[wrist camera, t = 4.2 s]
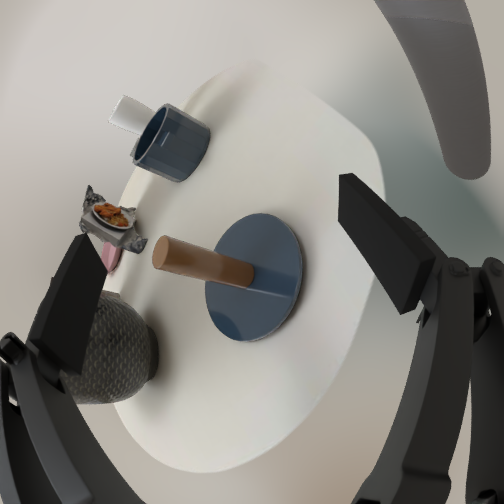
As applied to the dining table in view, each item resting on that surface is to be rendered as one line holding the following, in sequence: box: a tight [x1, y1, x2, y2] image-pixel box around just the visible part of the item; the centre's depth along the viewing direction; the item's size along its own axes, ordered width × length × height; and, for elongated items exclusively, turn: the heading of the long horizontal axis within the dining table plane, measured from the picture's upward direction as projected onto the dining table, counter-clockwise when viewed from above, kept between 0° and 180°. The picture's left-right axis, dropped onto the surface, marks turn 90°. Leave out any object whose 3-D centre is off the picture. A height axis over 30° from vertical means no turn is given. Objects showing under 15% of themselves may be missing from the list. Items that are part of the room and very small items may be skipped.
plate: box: [101, 242, 122, 274], centre depth 61 cm, size 14×14×2 cm
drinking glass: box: [108, 95, 156, 135], centre depth 50 cm, size 7×7×15 cm
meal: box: [79, 185, 148, 254], centre depth 49 cm, size 15×4×13 cm, turn 41°
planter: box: [60, 293, 158, 404], centre depth 33 cm, size 17×17×16 cm
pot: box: [133, 104, 210, 182], centre depth 42 cm, size 11×17×8 cm
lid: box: [152, 213, 303, 341], centre depth 23 cm, size 12×12×10 cm
